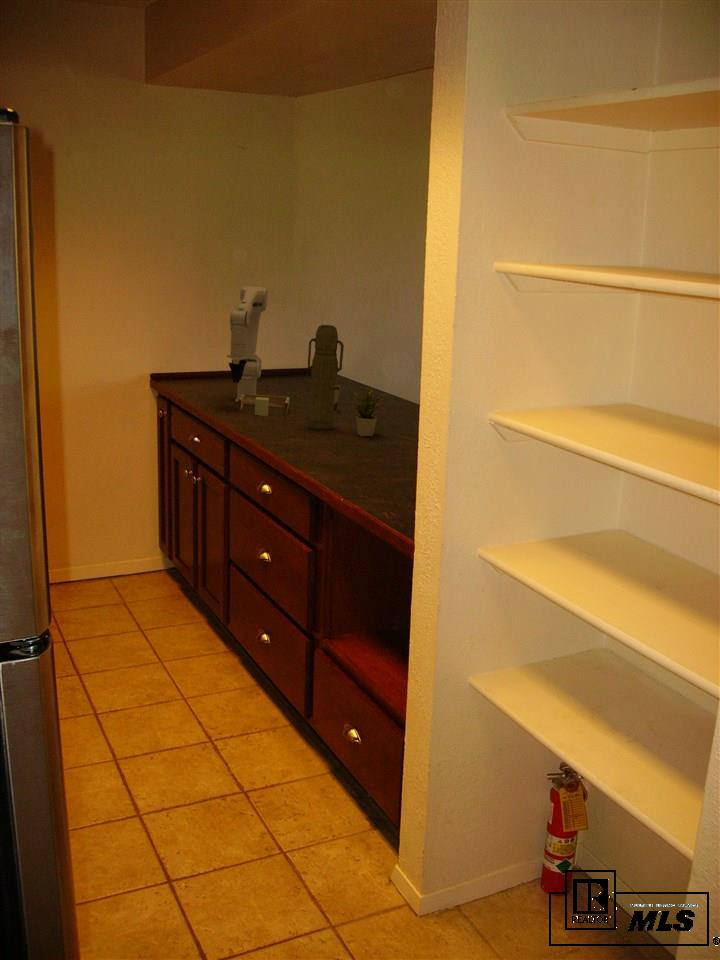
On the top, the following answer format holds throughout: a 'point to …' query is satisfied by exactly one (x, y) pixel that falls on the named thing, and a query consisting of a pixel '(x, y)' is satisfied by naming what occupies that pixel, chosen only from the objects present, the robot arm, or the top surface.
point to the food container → (336, 396)
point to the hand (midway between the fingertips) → (237, 381)
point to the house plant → (366, 414)
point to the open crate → (273, 400)
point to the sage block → (261, 406)
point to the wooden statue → (324, 377)
